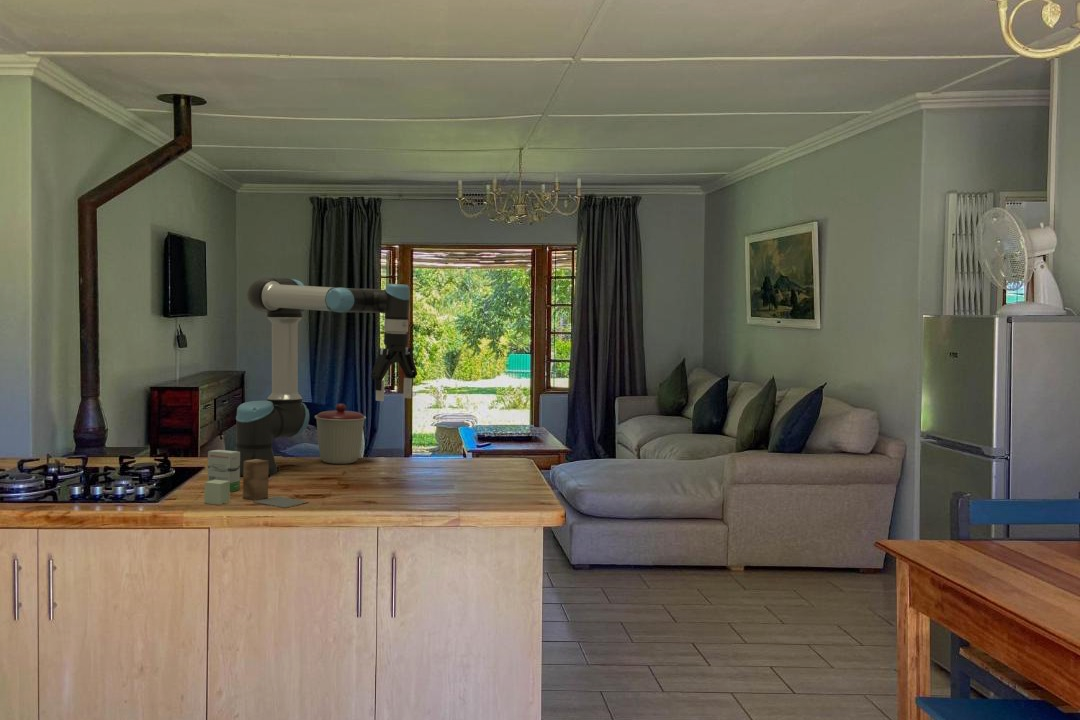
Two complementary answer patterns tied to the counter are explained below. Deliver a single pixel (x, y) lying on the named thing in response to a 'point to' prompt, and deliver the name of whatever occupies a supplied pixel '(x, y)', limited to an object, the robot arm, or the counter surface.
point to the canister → (339, 435)
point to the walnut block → (255, 479)
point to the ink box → (224, 467)
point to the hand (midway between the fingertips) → (393, 399)
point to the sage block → (217, 492)
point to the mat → (280, 501)
